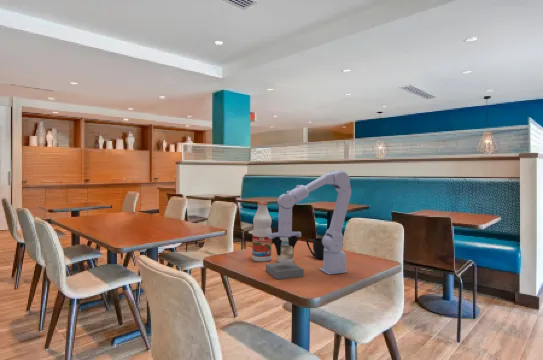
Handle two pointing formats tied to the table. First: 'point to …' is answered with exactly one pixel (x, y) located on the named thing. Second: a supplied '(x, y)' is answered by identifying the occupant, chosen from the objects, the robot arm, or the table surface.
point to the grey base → (284, 270)
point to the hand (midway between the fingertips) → (284, 254)
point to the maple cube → (286, 252)
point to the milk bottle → (284, 242)
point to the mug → (317, 248)
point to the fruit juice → (261, 234)
